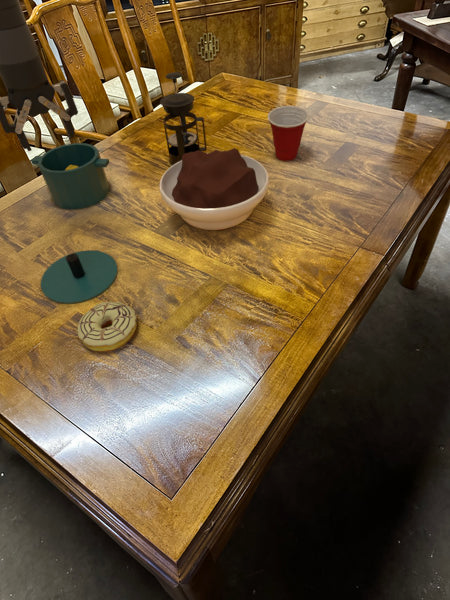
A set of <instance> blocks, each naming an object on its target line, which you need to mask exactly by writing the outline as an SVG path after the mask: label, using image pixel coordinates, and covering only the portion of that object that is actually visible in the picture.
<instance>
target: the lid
mask: <svg viewBox="0 0 450 600" xmlns="http://www.w3.org/2000/svg"><path fill="white" fill-rule="evenodd" d="M118 271H119V269H118V265H117V262H116V260H115V259H114V257H112V256H111V255H110V254H108V253H107V252H103V251H100V250H95V249H94V250H93V249H91V250H89V249H88V250H87V249H85V250H79V251H75V252H72V253H69V254H66V255H64V256H62V257H60V258H58V259H57V260H56V261H54V262H53V263H51V265H49V266H48V268H47V269H46V270H45V271H44V273H43V274H42V276H41V280H40V289H41V291H42V293H43V294H44V296H45V297H46V298H47V299H49V300H50V301H51V302H55V303H58V304H64V305H72V304H73V305H74V304H79V303H84V302H87V301H90V300H92V299H95V298H97V297H98V296H100V295H102V294H103V293H104V292H106V291H107V290H108V289H109V288H110V287H111V286H112V285H114V282H115V281H116V279H117V277H118Z"/></svg>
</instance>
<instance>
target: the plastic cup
mask: <svg viewBox="0 0 450 600" xmlns="http://www.w3.org/2000/svg"><path fill="white" fill-rule="evenodd" d="M309 118H310V115H309V112H308V111H307V110H306V109H305V108H302V107H301V106H296V105H282V106H278V107H275V108H273V109H271V110H270V111H269V112H268V114H267V120H268V122H269V124H270V128H271V133H272V141H273V147H274V152H275V156H276V159H277V160H279V161H282V162H290V161H293V160H296V158H297V156H298V153H299V148H300V146H301V142H302V139H303V133H304V130H305V127H306V124H307V122H308V120H309Z"/></svg>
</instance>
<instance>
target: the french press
mask: <svg viewBox="0 0 450 600" xmlns="http://www.w3.org/2000/svg"><path fill="white" fill-rule="evenodd" d="M182 77H183V74H182V73H181V72H177V71H175V72H169V73H167V74H166V75H165V78H166V79H168V80H172V83H173V84H174V92H175V93H170V94H167V95H164V96H163V97H161V99H160V100H159V104H160V105H161V106H162V108H163V110H164V112H165V113H166V115H165V116H164V117H163V119H162V121H163V128H164V135H165V141H166V146H167V152H168V158H169V159H168V162H169V165H171V166H173V165H174V164H176V163H177V162H179V161H181V160H182V156H183V154H186V153H189V152H195V151H202V152H206V151H207V148H208V147H207V137H206V135H207V134H206V128H205V127H206V126H205V118H204V116H197V115H196V114H195V113H193V112H191V111H192V110H193V109H194V108H195V107H194V102H195V96H194V95H192V94H190V93H186V92H178V89H177V79H180V78H182ZM186 117H188V118H191V119H194V120H193V121H191V122H189V123H187V119H186ZM175 118H178V120H179V121H178V122H179V125H173V124H169V123H167V122H168V121H170V120H172V119H175ZM198 122H201V123H202V133H203V134H202V135H203V142H204V146H200V138H199V128H198ZM193 127H195V129H196V130H195V131H196V133H194V132H191V131H188V130H189V129H190V130H191V129H192V128H193ZM168 131H174V132H175V133H172V134H171V135H168Z"/></svg>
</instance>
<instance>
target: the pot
mask: <svg viewBox="0 0 450 600" xmlns="http://www.w3.org/2000/svg"><path fill="white" fill-rule="evenodd" d="M30 162H31V164H32V165H37V166H38V169H39V171H40V174H41V176H42V179H43V180H44V183H45V186H46V188H47V190H48V192H49V195H50V197H51V200H52V201H53V203H54V204H55V206H57V207H59V208H60V209H65V210H82V209H85V208H89V207H93V206H94V205H96V204H98V203H100V202H102V201H103V200H104V199H105V198H106V197H107V196H108V194H109V192H110V185H109V182H108V181H109V180H108V177H107V174H106V172H105V171H106V170H105V168H107V167H108V166H109V164H110V159H109V158H101V154H100V151H99V149H98V147H96V146H95V145H92V144H89V143H87V142H85V143H83V142H73V143H68V144H67V143H66V144H62V145H59V146H56V147H53V148H51V149H50V150H48V151H45V152H44V153H43V154H42V155H35V156H34V157H33V158H32V159H31V160H30ZM69 165H75V166H78V167H77V168H75V169H71V170H65V169H66V168H67V167H68V166H69Z"/></svg>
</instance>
